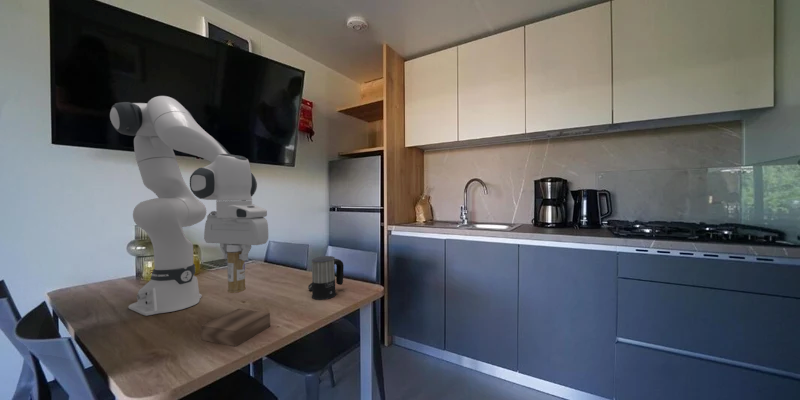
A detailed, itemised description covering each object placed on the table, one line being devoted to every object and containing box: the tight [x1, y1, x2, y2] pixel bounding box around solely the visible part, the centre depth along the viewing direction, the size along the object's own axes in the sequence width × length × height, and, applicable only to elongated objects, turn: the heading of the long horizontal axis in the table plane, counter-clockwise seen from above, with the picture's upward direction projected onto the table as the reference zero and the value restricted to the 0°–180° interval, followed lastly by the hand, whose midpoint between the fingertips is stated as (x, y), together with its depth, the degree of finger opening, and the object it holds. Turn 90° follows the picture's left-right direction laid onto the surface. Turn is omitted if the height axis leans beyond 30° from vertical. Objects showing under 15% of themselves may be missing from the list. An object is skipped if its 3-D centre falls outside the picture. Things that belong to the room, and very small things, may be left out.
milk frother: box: [307, 255, 345, 300], centre depth 114 cm, size 14×16×15 cm
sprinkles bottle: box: [227, 244, 246, 294], centre depth 81 cm, size 5×5×14 cm
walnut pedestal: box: [200, 308, 271, 347], centre depth 81 cm, size 12×12×4 cm
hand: (235, 259), depth 81 cm, fingers closed on sprinkles bottle, 4 cm apart
